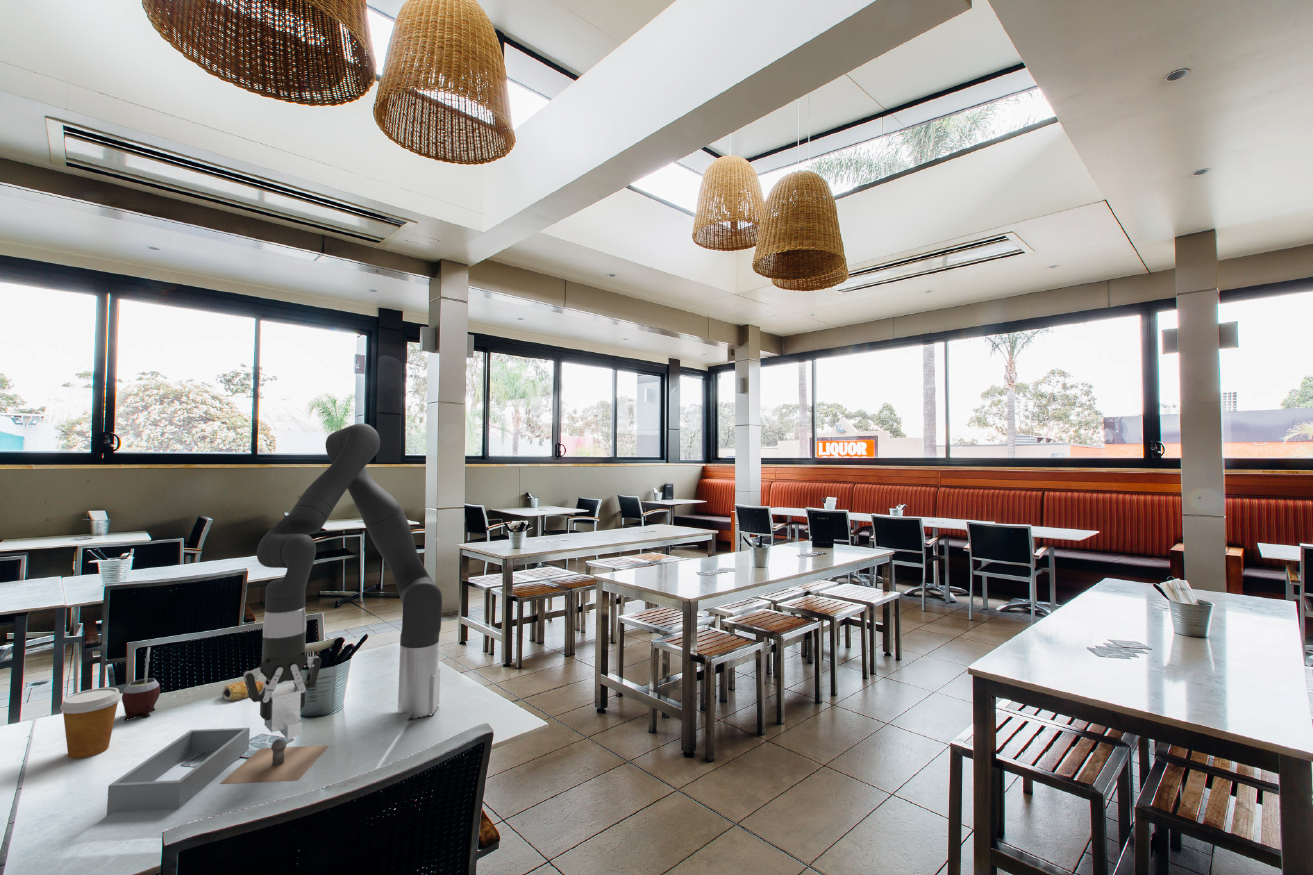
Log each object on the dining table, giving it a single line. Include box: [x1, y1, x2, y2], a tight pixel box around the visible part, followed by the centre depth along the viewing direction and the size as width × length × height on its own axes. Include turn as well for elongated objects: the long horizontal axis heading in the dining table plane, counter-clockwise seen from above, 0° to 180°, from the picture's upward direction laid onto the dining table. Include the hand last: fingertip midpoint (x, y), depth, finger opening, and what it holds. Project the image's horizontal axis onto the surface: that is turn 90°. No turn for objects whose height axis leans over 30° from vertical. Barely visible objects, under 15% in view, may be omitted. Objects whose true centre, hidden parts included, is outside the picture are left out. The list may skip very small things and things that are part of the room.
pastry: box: [221, 680, 264, 702], centre depth 158 cm, size 9×7×4 cm
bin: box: [106, 727, 251, 816], centre depth 114 cm, size 22×12×6 cm, turn 7°
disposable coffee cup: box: [59, 687, 122, 760], centre depth 126 cm, size 10×10×12 cm
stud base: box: [219, 738, 330, 785], centre depth 120 cm, size 14×14×6 cm
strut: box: [264, 683, 303, 740], centre depth 120 cm, size 16×5×7 cm, turn 48°
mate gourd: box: [121, 646, 161, 721], centre depth 145 cm, size 8×8×15 cm
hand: (282, 714), depth 120 cm, fingers closed on strut, 5 cm apart
